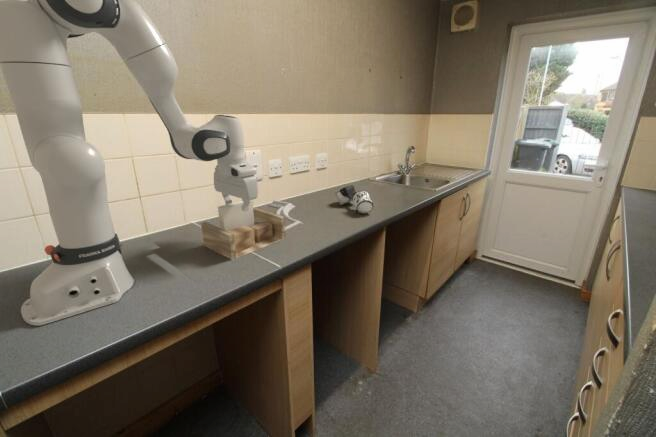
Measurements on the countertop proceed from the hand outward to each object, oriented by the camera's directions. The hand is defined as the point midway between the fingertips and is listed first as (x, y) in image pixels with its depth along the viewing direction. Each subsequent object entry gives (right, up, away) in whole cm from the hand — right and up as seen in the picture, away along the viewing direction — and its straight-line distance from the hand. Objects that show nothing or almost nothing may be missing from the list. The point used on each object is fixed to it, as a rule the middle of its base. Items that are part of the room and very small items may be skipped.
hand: (237, 207), depth 105 cm
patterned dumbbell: (+43, +1, +42) cm, 60 cm away
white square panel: (0, -11, +4) cm, 11 cm away
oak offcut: (+2, -13, -3) cm, 14 cm away
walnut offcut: (+8, -11, +4) cm, 14 cm away
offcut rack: (+3, -13, +2) cm, 13 cm away
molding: (+10, -4, +30) cm, 33 cm away
